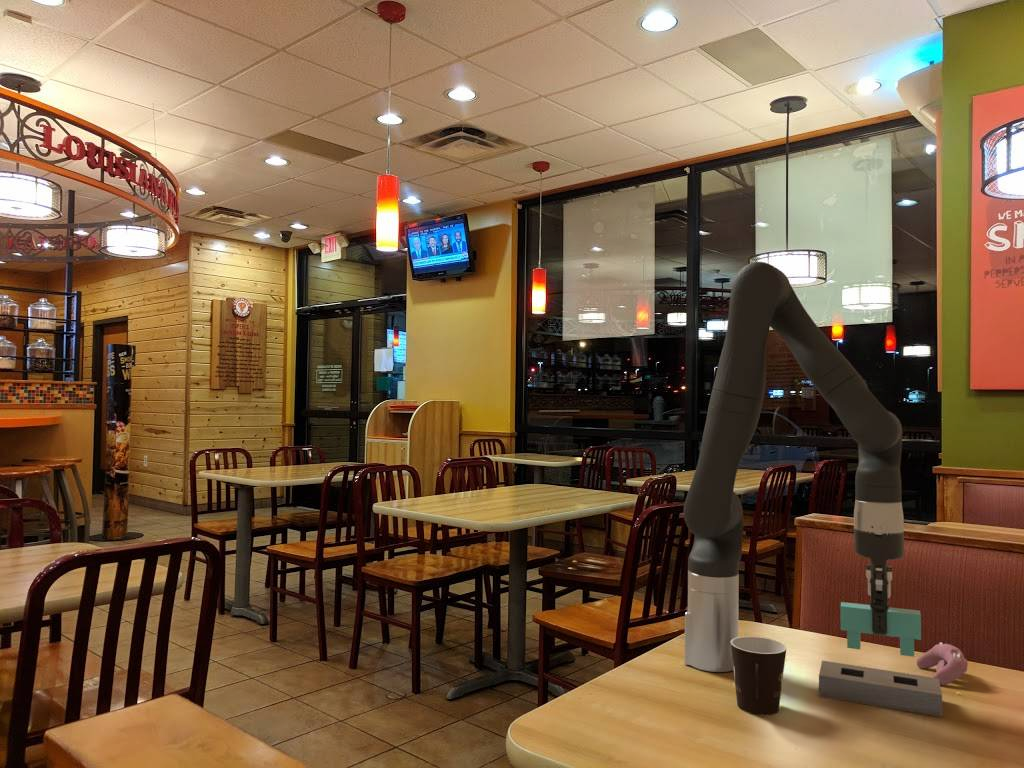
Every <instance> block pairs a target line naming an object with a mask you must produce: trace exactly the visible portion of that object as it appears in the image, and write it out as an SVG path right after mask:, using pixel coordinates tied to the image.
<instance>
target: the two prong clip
mask: <svg viewBox="0 0 1024 768" xmlns="http://www.w3.org/2000/svg"><path fill="white" fill-rule="evenodd" d="M839 609H840V612H839V613H840V618H839V619H840V631H845V632H846V639H847V640H846V643H847V645H846V646H847V647H846V648H847V649H853V650H861V646H862V645H861V643H862V641H861V634H871V635H875V634H874V633H873V631H872V611H871V608H870V604H865V603H864V604H863V603H854V602H843V601H841V602H840V608H839ZM874 611H875V610H874ZM884 612H885V611H884ZM876 635H878V636H879V635H880V634H876ZM880 636H881V635H880ZM884 636H887V637H895V638H899V655H900V656H905V657H913V658H914V657H915V640H918V641H919V640H920V641H921V640H922V615H921V610H917V609H907V608H901V607H900V608H899V607H898V608H897V607H890V606H889V610H888V612H887V634H886V635H884Z"/></svg>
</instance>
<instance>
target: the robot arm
mask: <svg viewBox="0 0 1024 768" xmlns="http://www.w3.org/2000/svg"><path fill="white" fill-rule="evenodd" d="M728 309H729V310H728V317H727V318H728V319H727V327H726V332H725V333H726V334H725V338H724V341H723V347H722V349H721V352H720V353H721V354H720V357H719V360H718V361H719V362H718V365H717V370H716V372H715V373H716V374H715V378H714V381H713V386H712V390H711V394H710V399H709V403H708V408H707V415H706V420H705V425H704V429H703V434H702V441H701V445H700V446H701V447H700V451H699V457H698V460H697V463H696V464H697V465H696V467H695V471H694V474H693V476H692V477H693V478H692V481H691V483H690V486H689V489H688V492H687V494H686V495H687V496H686V498H685V501H684V504H683V519H684V521H685V524H686V526H687V528H688V529H689V531H690V532H691V533H692V534H693V535H694V538H693V539H694V540H693V544H692V545H693V546H692V548H691V550H690V552H689V555H688V561H687V610H686V612H685V613H684V665H686V666H687V665H688V666H691V667H693V668H695V669H698V670H701V671H706V672H713V673H715V672H716V673H725V672H726V673H727V672H732V671H734V669H733V660H732V651H731V642H730V641H731V640H732V639H734V638H737V637H739V601H740V600H739V589H740V588H739V584H740V583H739V582H740V581H739V578H740V577H739V575H740V574H739V571H740V569H739V568H740V561H741V559H742V553H743V538H744V537H743V532H744V510H743V505H742V501H741V499H740V498H739V496H738V494H736V492H735V491H734V488H735V482H736V477H737V473H738V470H739V467H740V464H741V462H742V459H743V457H744V455H745V452H747V451H746V450H748V447H749V445H750V442H751V440H752V439H753V436H754V434H755V432H756V430H757V427H758V423H759V421H760V415H761V410H762V408H763V407H762V406H763V403H764V399H765V393H766V383H767V378H766V377H767V374H766V373H767V372H766V371H767V368H766V367H767V366H766V365H767V364H766V348H767V340H768V335H769V332H770V328H771V329H772V330H773V331H774V332H775V333H776V334H777V335H778V336H779V337H780V339H781V340H782V341H783V342H784V344H785V345H786V346H787V348H788V349H789V350H790V352H791V354H792V355H793V357H794V358H795V360H796V362H797V364H798V365H799V367H800V369H801V370H802V372H803V373H804V375H805V377H807V379H808V380H809V382H810V383H811V384H812V385H813V387H814V388H815V389H816V391H818V392H819V394H820V396H822V398H824V400H825V401H826V403H828V404H829V405H830V407H831V408H832V409H833V410H834V412H835V414H836V415H837V417H838V418H839V419H840V422H841V423H842V424H843V426H844V428H845V429H846V430H847V432H848V433H849V434H850V436H851V437H852V439H854V441H855V442H856V443H857V445H858V446H857V447H858V448H857V449H858V451H857V452H858V466H857V468H856V472H855V481H854V483H855V484H854V485H855V486H854V487H855V491H854V492H855V496H854V497H855V503H854V509H853V537H854V538H853V539H854V540H853V543H854V544H853V545H854V547H853V548H854V551H853V552H854V553H855V554H856V555H857V556H859V557H862V558H869V559H870V560H871V564H866V565H865V577H866V578H867V594H868V596H870V603H869V605H870V608H871V611H872V631H873V633H874V634H873V635H877V634H880V636H885V635H886V634H887V612H888V610H889V607H890V606H889V600H888V599H890V598H891V596H892V591H891V589H892V584H891V582H892V581H893V567H892V566H888V565H887V563H888V562H887V561H889V560H892V561H893V560H894V561H895V560H900V559H903V557H904V556H905V544H904V543H905V542H904V541H905V540H904V538H905V537H904V535H905V532H904V530H905V529H904V527H905V526H904V525H905V524H904V511H903V504H902V499H903V498H902V478H901V477H902V476H901V475H902V474H901V461H902V450H903V426H902V424H901V421H900V419H899V418H898V417H897V415H896V414H895V413H894V412H891V411H889V410H887V409H886V407H884V405H883V404H882V403H881V402H880V401H879V400H878V399H877V397H876V396H875V395H874V394H873V393H872V392H871V391H870V390H869V387H868V385H867V383H866V381H865V380H864V379H863V377H862V376H861V374H860V373H859V372H858V371H857V370H856V369H855V367H854V366H853V365H852V364H851V362H850V361H849V360H848V359H847V358H846V357H845V355H844V354H843V353H842V352H841V351H840V350H839V348H838V347H836V346H835V344H834V343H833V342H832V341H831V340H830V338H828V336H826V334H825V333H824V332H823V331H822V330H821V329H820V328H819V326H818V325H817V324H816V323H815V321H814V320H813V319H812V317H811V316H810V314H809V313H808V312H807V310H806V308H805V307H804V306H803V304H802V302H801V300H800V299H799V297H798V295H797V294H796V292H795V290H794V288H793V286H792V285H791V282H790V281H789V278H788V276H787V275H786V274H785V273H784V272H783V271H782V270H780V269H778V268H777V267H775V266H774V265H772V264H770V263H768V262H764V261H754V262H750V263H749V264H746V265H745V266H743V267H742V268H741V269H740V270H739V271H738V272H737V274H736V276H735V278H734V279H733V282H732V285H731V292H730V300H729V308H728ZM874 610H875V611H874ZM884 611H885V612H884Z"/></svg>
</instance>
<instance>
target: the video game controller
mask: <svg viewBox="0 0 1024 768" xmlns="http://www.w3.org/2000/svg"><path fill="white" fill-rule="evenodd" d="M968 665H969V664H968V660H967V659H966V658H965V656H964V653H963V652H962V650H960V648H958V647H956V646H954V645H952V644H949V643H943V642H939V643H938V644H937V643H936V645H934V646H933V647H932V648H930V649H929V650H928V651H926V652H924V653H923V654H921V655H919V657H918V658H917V659H916V666H917V667H918V669H921V670H922V669H923V670H927V669H930V668H933V667H935V666H936V669H935V671H936V672H935V673H934V675H933V678H939V683H940V686H946V685H949V684H951V683H953V682H956V680H958V679H959V677H962V676H963V675H964V674H965V673H967V671H968Z"/></svg>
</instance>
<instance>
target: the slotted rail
mask: <svg viewBox="0 0 1024 768" xmlns="http://www.w3.org/2000/svg"><path fill="white" fill-rule="evenodd" d="M818 697H821V698H822V697H823V698H828V699H835V700H840V701H846V702H851V703H858V704H863V705H868V706H875V707H879V708H884V709H885V708H886V709H891V710H897V711H902V712H903V711H904V712H908V713H914V714H921V715H927V716H933V717H938V718H943V693H942V688H941V685H940V683H939V678H933V677H931V676H927V675H926V676H925V675H918V674H912V673H907V672H906V673H905V672H900V671H893V670H886V669H880V668H879V669H878V668H873V667H866V666H861V665H853V664H847V663H840V662H834V661H828V660H827V661H826V660H822V661H821V665H820V669H819V674H818Z"/></svg>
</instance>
